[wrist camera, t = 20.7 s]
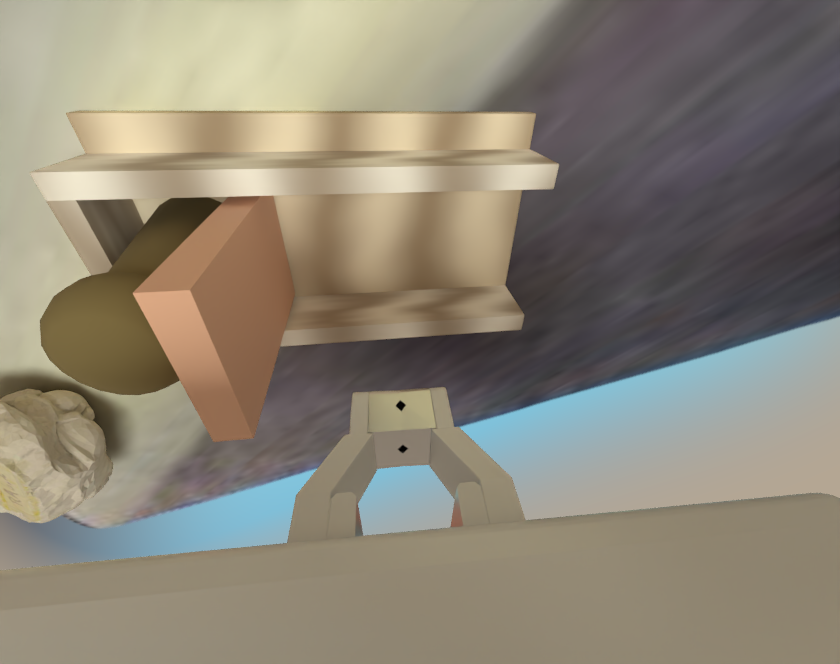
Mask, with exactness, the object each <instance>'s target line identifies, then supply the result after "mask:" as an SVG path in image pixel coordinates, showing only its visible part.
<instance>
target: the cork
mask: <svg viewBox="0 0 840 664" xmlns="http://www.w3.org/2000/svg"><path fill="white" fill-rule="evenodd" d="M221 204H222V203H221V202H219V201H217V200H214V199H212V198H209V197H193V198H170V199H169V200H167V201H165V202H164V203H162V204H161V205H159V206H158V208H157V209H156V210H155V212H154V213H153V214H152V215H151V217H150V218H149V219H148V221H147V222H146V223H145V225H144V226H143V227H142V228H141V230H140V231H139V232H138V234H137V235H136V236H135V238H134V239H133V240H132V241H131V243H130V244H129V245H128V247H127V248H126V249H125V250H124V252H123V253H122V254H121V256H120V257H119V258H118V260H117V261H116V262H115V263H114V265H113V266H112V267H111V269H110V270H109V271H108V272H107V273H101V274H96V275H92V276H89V277H86V278H82V279H80V280H78V281H77V282H75V283H73V284H72V285H70V286H68V287H67V288H65V289H64V290H62V291H61V292H59V293H58V294H57V295H55V296H54V297H53V299H52V300H51V302H50V304H49V305H48V307H47V309H46V311H45V312H44V314H43V316H42V318H41V320H40V331H41V345H42V347H43V349H44V351H45V353H46V354H47V356H48V358H49V360H50V361H52V362H53V363H54V364H55V365H56V366H57V367H58V368H59V369H60V370H61V371H62V372H63V373H65V374H67V375H68V376H70V377H71V378H73V379H75V380H76V381H78V382H80V383H82V384H85V385H87V386H90V387H92V388H95V389H98V390H100V391H105V392H110V393H115V394H121V395H141V394H146V393H151V392H156V391H158V390H161V389H163V388H166V387H168V386H170V385H172V384H174V383H176V382H178V381H179V380H180V379H179V377H178V376H177V374H176V372H175V370H174V368H173V366H172V365H171V363H170V361H169V359H168V357H167V355H166V354H165V352H164V350H163V348H162V346H161V344H160V343H159V341H158V339H157V337H156V335H155V333H154V332H153V330H152V328H151V326H150V324H149V323H148V321H147V319H146V317H145V315H144V313H143V312H142V310H141V308H140V306H139V304H138V302H137V301H136V299H135V297H134V295H133V292H134V291H135V290H136V289H137V288H138V287H139V286H140V285H141V284H142V283H143V282H144V281H145V280H146V279H147V278H148V277H149V276H150V275H151V274H152V273H153V272H154V271H155V270H156V269H157V268H158V267H159V266H160V265H161V264H162V263H163V262H164V261H165V260H166V259H167V258H168V257H169V256H170V255H171V254H172V253H173V252H174V251H175V250H176V249H177V248H178V247H179V246H180V245H181V244H182V243H183V242H184V241H185V240H186V239H187V238H188V237H189V236H190V235H191V234H192V233H193V232H194V231H195V230H196V229H197V228H198V227H199V226H200V225H201V224H202V223H203V222H204V221H205V220H206V219H207V218H208V217H209V216H210V215H211V214H212V213H213V212H214V211H215V210H216V209H217V208H218V207H219V206H220V205H221Z"/></svg>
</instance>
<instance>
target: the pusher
mask: <svg viewBox="0 0 840 664" xmlns="http://www.w3.org/2000/svg"><path fill="white" fill-rule="evenodd" d="M133 295H134V297H135V299H136V301H137V302H138V304H139V306H140V308H141V310H142V312H143V313H144V315H145V317H146V319H147V321H148V323H149V324H150V326H151V328H152V330H153V332H154V333H155V335H156V337H157V339H158V341H159V343H160V344H161V346H162V348H163V350H164V352H165V354H166V355H167V357H168V359H169V361H170V363H171V365H172V366H173V368H174V370H175V372H176V374H177V376H178V377H179V379H180V381H181V383H182V385H183V387H184V388H185V390H186V392H187V394H188V396H189V398H190V399H191V401H192V403H193V405H194V407H195V409H196V410H197V412H198V414H199V416H200V418H201V420H202V421H203V423H204V425H205V427H206V429H207V431H208V432H209V434H210V436H211V438H212V440H213V442H219V441H229V440H239V439H250V438H254V435H255V432H256V428H257V425H258V421H259V418H260V414H261V411H262V407H263V404H264V400H265V397H266V394H267V390H268V387H269V383H270V380H271V376H272V373H273V369H274V366H275V362H276V359H277V355H278V352H279V348H280V345H281V341H282V338H283V334H284V331H285V327H286V324H287V320H288V317H289V313H290V310H291V306H292V303H293V299H294V296H295V290H294V285H293V281H292V277H291V272H290V268H289V263H288V259H287V255H286V250H285V246H284V242H283V237H282V233H281V228H280V224H279V220H278V215H277V211H276V206H275V202H274V198H273V196H236V197H228V198H227V199H226V200H225V201H224V202H223V203H222V204H221V205H220V206H219V207H218V208H217V209H216V210H215V211H214V212H213V213H212V214H211V215H210V216H209V217H208V218H207V219H206V220H205V221H204V222H203V223H202V224H201V225H200V226H199V227H198V228H197V229H196V230H195V231H194V232H193V233H192V234H191V235H190V236H189V237H188V238H187V239H186V240H185V241H184V242H183V243H182V244H181V245H180V246H179V247H178V248H177V249H176V250H175V251H174V252H173V253H172V254H171V255H170V256H169V257H168V258H167V259H166V260H165V261H164V262H163V263H162V264H161V265H160V266H159V267H158V268H157V269H156V270H155V271H154V272H153V273H152V274H151V275H150V276H149V277H148V278H147V279H146V280H145V281H144V282H143V283H142V284H141V285H140V286H139V287H138V288H137V289H136V290H135V291H134V292H133Z"/></svg>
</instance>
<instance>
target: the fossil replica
mask: <svg viewBox="0 0 840 664" xmlns="http://www.w3.org/2000/svg"><path fill="white" fill-rule="evenodd" d="M94 418H95V415H94V411H93V410H92V409H91V407H90V405H88V403H87V401H86V400H85V399H84V397H82V396H81V395H79V394H77V393H74V392H71V391H66V390H54V391H49V392H46V393H43V392H42V391H40V390H33V389H29V388H28V389H25V390H22V391H17V392H14V393H11V394H8V395H5V396H4V397H3V398H1V399H0V512H1V513H5V512H8V513H10V514H13V515H15V516H18V517H19V518H21V519H22V520H26V521H28V522H29V523H30V522H36V523H44V522H48V521H51V520H53V519H55V518H57V517H59V516H60V515H62V514H65V513H67V512H69V511H71V510H73V509H75V508H76V507H77V506H79V505H80V504H81V503H82V502H83V501H84V500H85V499H87V498H92V497H94V496H95V495H96V494H97V493H98V492H99V491H100V490H101V489H102V488H103V487H104V485H105V484H106V483H107V482H108V480H109V476H110V475H111V474H112V469H113V463H112V462H111V459H110V458H109V457H108V456H107V455H106V449H107V447H106V444H105V441H106V439H105V437H104V433H103V430H102V429H101V428H100V427H99V425H98V424H96V423H95V422H94V421H92V420H93V419H94Z"/></svg>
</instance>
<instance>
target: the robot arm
mask: <svg viewBox="0 0 840 664" xmlns="http://www.w3.org/2000/svg"><path fill="white" fill-rule="evenodd" d="M413 465H430V467H431V469H432V470H433V471H434V472H435V474H436V475H437V476H438V478H439V479H440V480H441V482H442V483H443V484H444V486H445V487H446V488H447V490H448V491H449V492H450V494H451V495H452V496H453V498H454V499H455V502H454V508H453V515H452V521H451V527H450V528H440V529H430V530H419V531H408V532H399V533H388V534H377V535H367V536H363V532H362V525H361V520H360V514H359V508H358V502H359V501H360V499H361V497H362V496H363V493H364V492H365V490H366V489H367V487H368V485H369V483H370V481H371V480H372V478H373V476H374V474H375V473H376V471H377V469H379V468H389V467H399V466H413ZM0 664H840V498H838V497H835V496H833V495H829V494H823V493H806V494H796V495H786V496H775V497H766V498H754V499H744V500H734V501H724V502H713V503H703V504H692V505H682V506H671V507H660V508H650V509H639V510H629V511H618V512H608V513H598V514H587V515H577V516H566V517H557V518H546V519H535V520H525V517H524V514H523V511H522V508H521V505H520V501H519V498H518V495H517V492H516V489H515V486H514V483H513V480H512V477H511V476H510V475H509V474H507V473H506V472H505V471H504V470H503V469H502V468H501V467H500V466H499V465H498V464H497V463H496V462H495V461H494V460H493V459H492V458H491V457H490V456H489V455H488V454H487V453H485V452H484V451H483V450H482V449H481V448H480V447H479V446H478V445H477V444H476V443H475V442H474V441H473V440H472V439H471V438H470V437H469V436H468V435H467V434H466V433H464V431H463V430H461V429H460V428H459V427H454V423H453V418H452V414H451V409H450V405H449V400H448V395H447V391H446V388H445V387H438V388H430V389H429V388H422V389H408V390H399V391H370V392H353V395H352V404H351V418H350V432H349V435H344V436H343V438H342V439H341V440H340V441H339V443H338V444H337V445H336V446H335V448H334V449H333V450H332V451H331V453H330V454H329V455H328V456H327V458H326V459H325V460H324V461H323V463H322V464H321V465H320V466H319V467H318V469H317V470H316V471H315V472H314V474H313V475H312V476H311V477H310V479H309V480H308V481H307V482H306V484H305V485H304V486H303V487H302V489H301V490H300V491H299V492H298V494H297V495H296V499H295V504H294V509H293V515H292V520H291V525H290V531H289V536H288V542H287V543H283V544H273V545H262V546H252V547H241V548H231V549H221V550H210V551H199V552H189V553H180V554H168V555H157V556H148V557H136V558H126V559H115V560H105V561H95V562H84V563H74V564H63V565H52V566H42V567H31V568H21V569H11V570H10V569H9V570H0Z"/></svg>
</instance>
